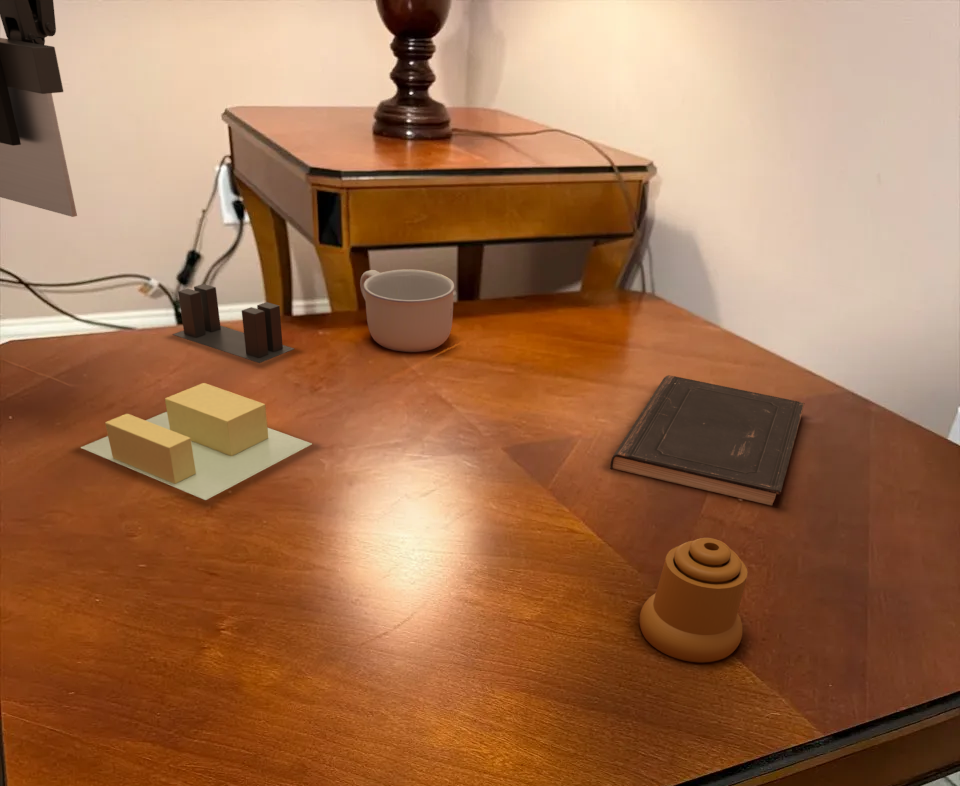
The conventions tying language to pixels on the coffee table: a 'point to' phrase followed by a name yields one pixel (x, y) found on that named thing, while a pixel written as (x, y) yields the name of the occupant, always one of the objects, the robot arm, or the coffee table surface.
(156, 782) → the coffee table surface
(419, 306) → the teacup
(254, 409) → the butter block
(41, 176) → the dough scraper
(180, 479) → the butter pat
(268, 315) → the stand
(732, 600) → the ornamental finial
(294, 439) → the butter dish
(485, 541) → the coffee table surface
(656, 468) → the hardcover book
